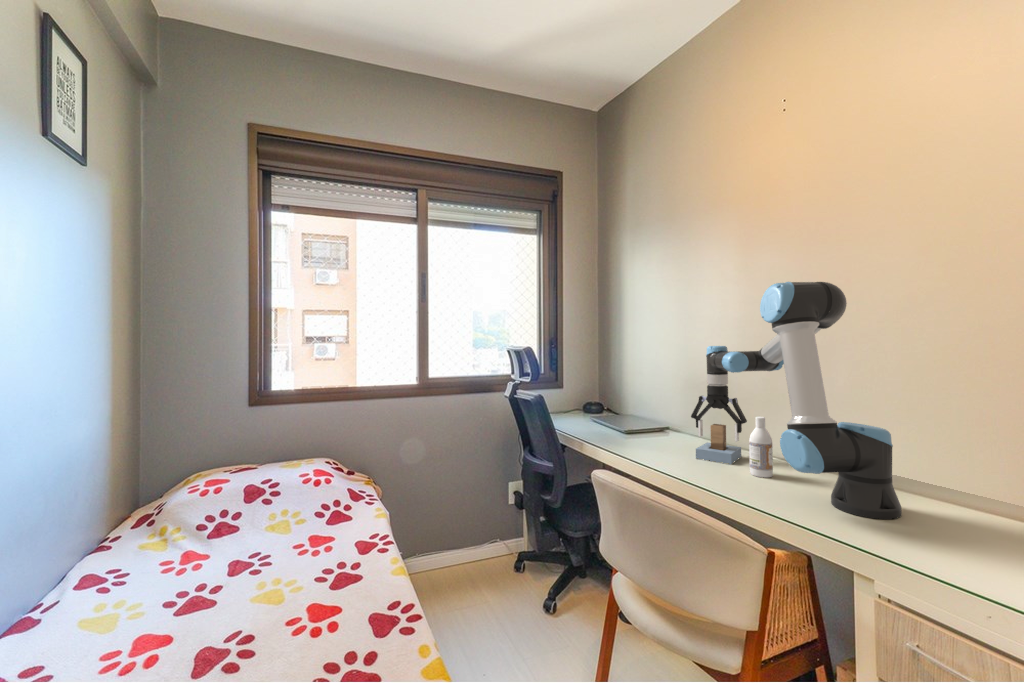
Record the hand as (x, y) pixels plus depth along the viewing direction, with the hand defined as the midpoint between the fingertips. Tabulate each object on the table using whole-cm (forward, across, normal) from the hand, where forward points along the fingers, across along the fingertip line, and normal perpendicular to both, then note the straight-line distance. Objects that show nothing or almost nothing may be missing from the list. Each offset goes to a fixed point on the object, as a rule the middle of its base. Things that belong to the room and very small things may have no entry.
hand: (718, 438), depth 174 cm
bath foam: (+8, -18, +13) cm, 24 cm away
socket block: (+8, 0, 0) cm, 8 cm away
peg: (+8, 0, 0) cm, 8 cm away
